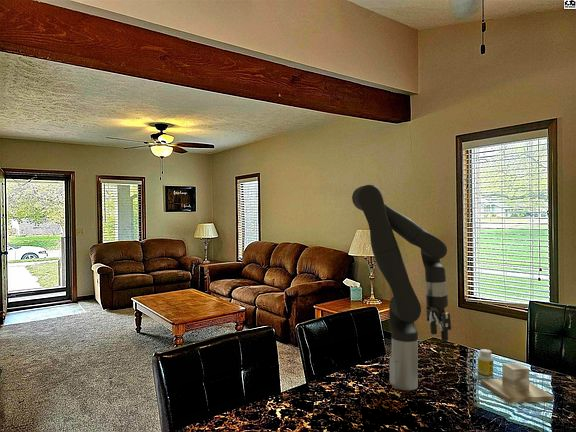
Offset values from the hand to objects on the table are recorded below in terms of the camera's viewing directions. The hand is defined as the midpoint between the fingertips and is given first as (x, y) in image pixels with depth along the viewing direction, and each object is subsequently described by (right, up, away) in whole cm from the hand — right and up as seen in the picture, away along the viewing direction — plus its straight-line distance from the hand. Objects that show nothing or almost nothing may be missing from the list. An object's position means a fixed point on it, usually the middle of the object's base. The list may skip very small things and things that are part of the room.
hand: (439, 337), depth 153 cm
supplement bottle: (+21, -18, +8) cm, 28 cm away
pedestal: (+24, -17, -7) cm, 31 cm away
